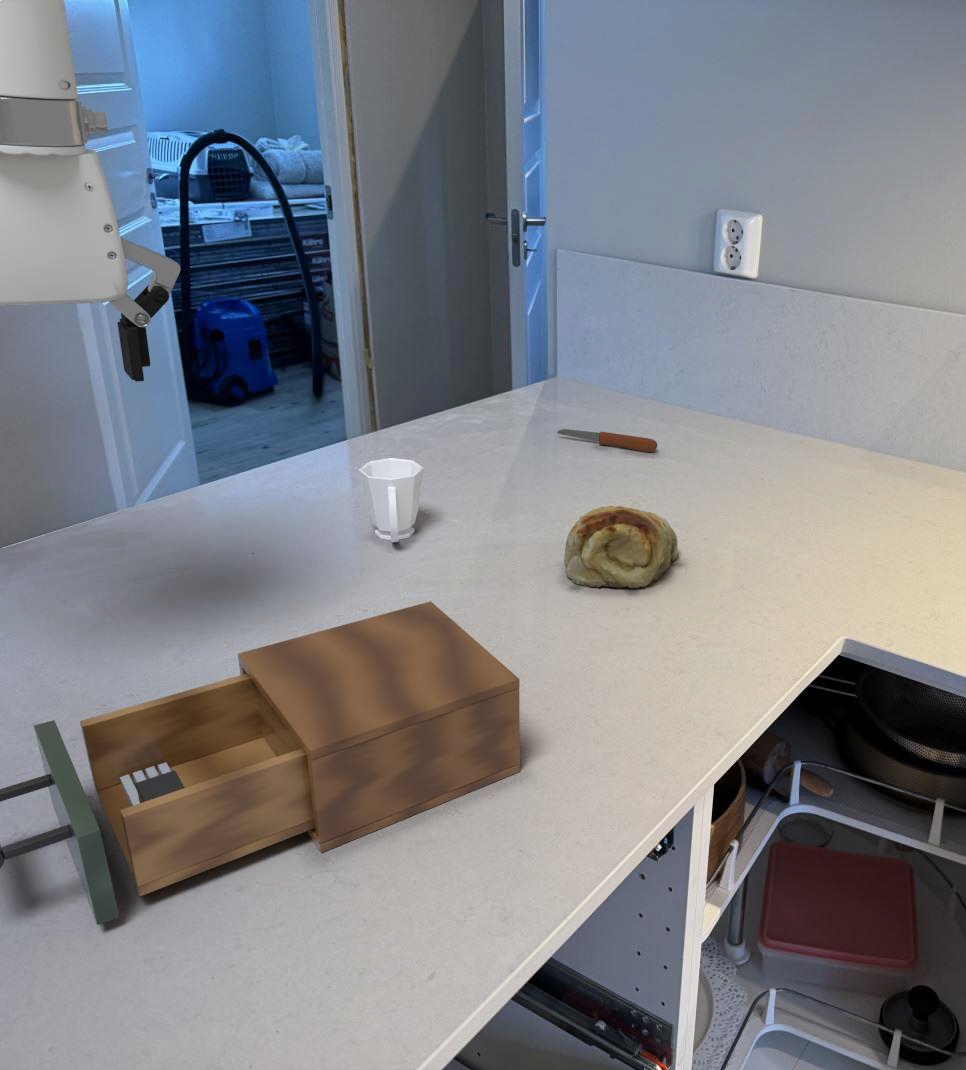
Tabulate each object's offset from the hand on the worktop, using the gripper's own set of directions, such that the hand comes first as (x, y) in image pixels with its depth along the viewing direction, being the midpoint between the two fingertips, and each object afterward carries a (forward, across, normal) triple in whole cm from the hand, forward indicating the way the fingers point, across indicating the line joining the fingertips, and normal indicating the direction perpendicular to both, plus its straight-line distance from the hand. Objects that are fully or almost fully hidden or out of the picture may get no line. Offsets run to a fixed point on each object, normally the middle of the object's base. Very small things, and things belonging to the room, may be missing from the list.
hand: (58, 382), depth 71 cm
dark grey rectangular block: (+25, 0, +20) cm, 32 cm away
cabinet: (+27, -15, +19) cm, 36 cm away
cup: (+27, -32, -19) cm, 46 cm away
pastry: (+26, -51, 0) cm, 57 cm away
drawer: (+26, +1, +20) cm, 33 cm away
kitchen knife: (+26, -72, -35) cm, 85 cm away
